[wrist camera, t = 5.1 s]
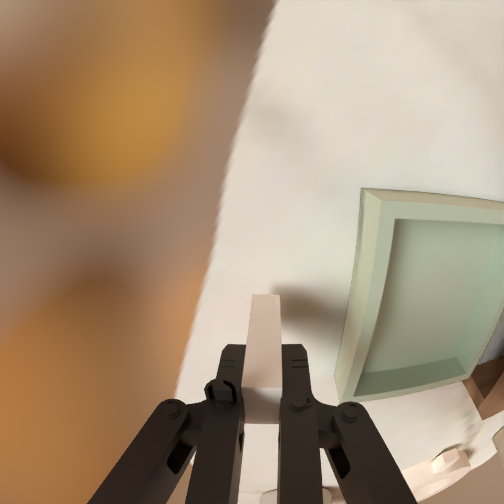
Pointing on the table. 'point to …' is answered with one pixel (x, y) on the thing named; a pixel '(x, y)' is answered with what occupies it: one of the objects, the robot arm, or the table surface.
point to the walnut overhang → (487, 387)
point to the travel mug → (499, 443)
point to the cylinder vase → (270, 498)
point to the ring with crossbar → (436, 473)
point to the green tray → (420, 292)
